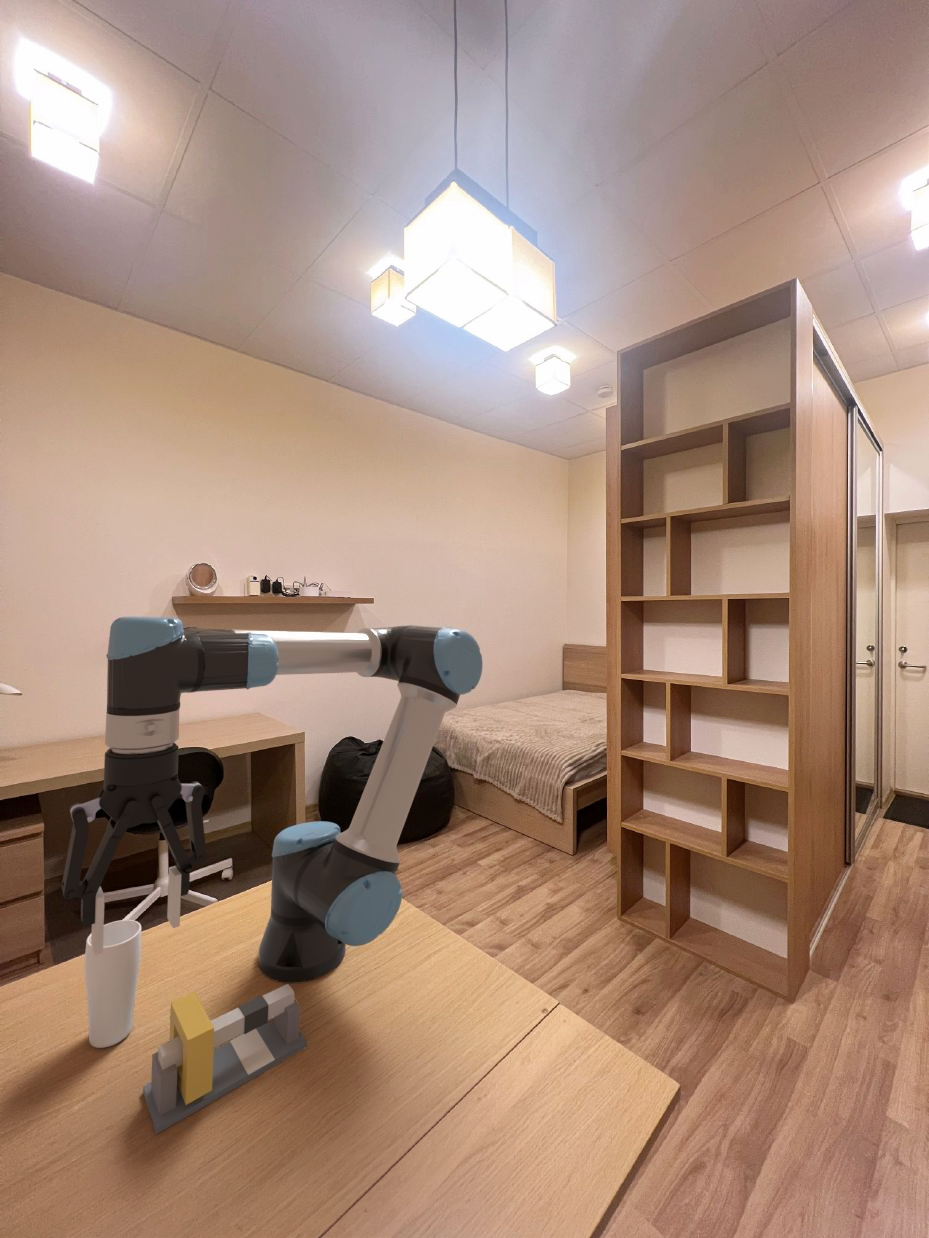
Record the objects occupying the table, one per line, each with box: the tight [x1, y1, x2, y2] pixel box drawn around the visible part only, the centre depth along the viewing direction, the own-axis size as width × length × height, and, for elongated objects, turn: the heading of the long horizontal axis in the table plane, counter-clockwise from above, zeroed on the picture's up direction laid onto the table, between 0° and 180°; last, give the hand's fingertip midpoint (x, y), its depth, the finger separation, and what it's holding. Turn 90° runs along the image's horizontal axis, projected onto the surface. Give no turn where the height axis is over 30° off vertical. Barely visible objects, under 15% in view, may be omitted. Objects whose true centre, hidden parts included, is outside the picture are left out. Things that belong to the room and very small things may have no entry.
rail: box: [142, 983, 308, 1135], centre depth 70 cm, size 7×19×7 cm, turn 133°
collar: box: [169, 991, 215, 1105], centre depth 67 cm, size 8×3×8 cm, turn 43°
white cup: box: [84, 919, 143, 1049], centre depth 75 cm, size 7×7×15 cm
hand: (136, 934), depth 62 cm, fingers open, 7 cm apart
